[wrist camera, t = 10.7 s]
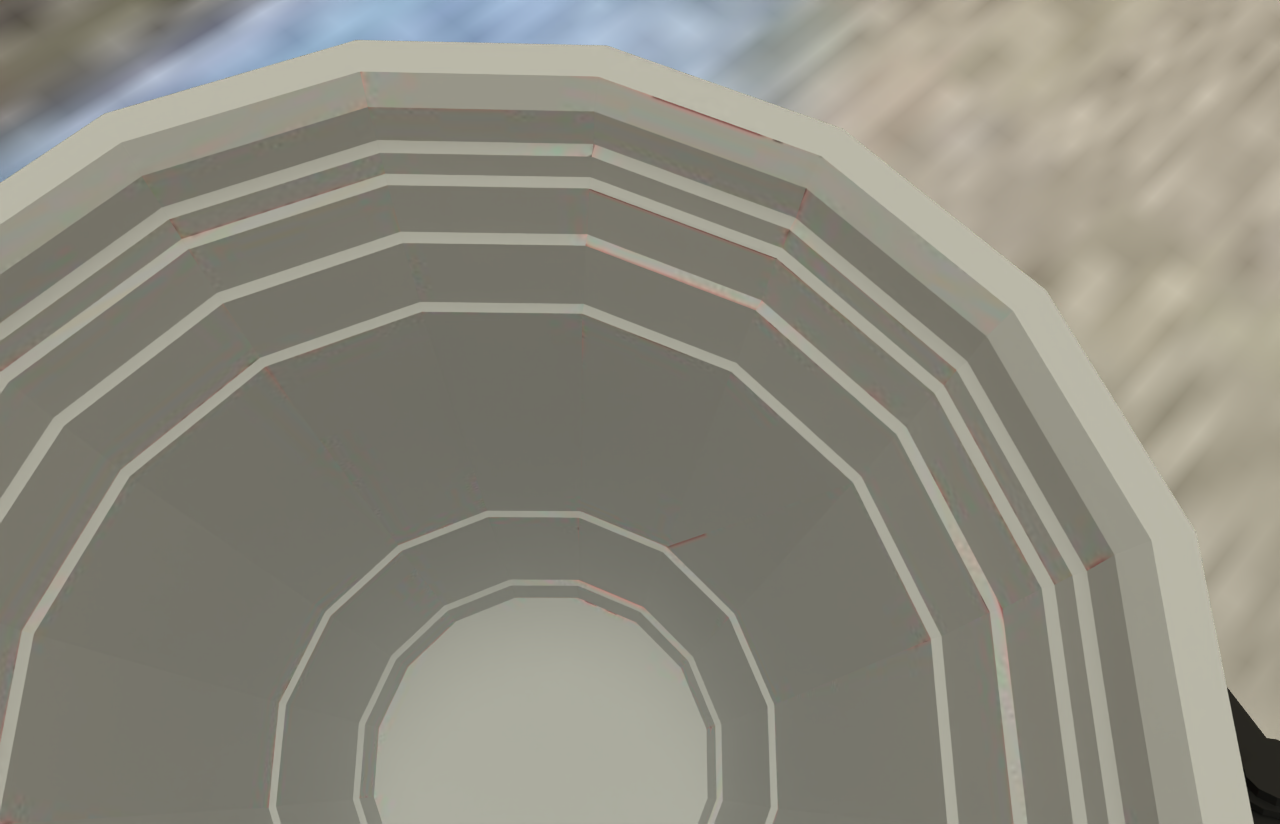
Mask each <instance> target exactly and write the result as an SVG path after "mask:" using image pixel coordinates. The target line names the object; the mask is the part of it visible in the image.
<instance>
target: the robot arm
mask: <svg viewBox="0 0 1280 824" xmlns="http://www.w3.org/2000/svg"><path fill="white" fill-rule="evenodd" d="M1227 691H1228V696H1229V701H1230V706H1231V711H1232V716H1233V721H1234V726H1235V731H1236V736H1237V741H1238V746H1239V752H1240V757H1241V762H1242V767H1243V772H1244V777H1245V782H1246V787H1247V792H1248V797H1249V802H1250V807H1251V812H1252V817H1253V822H1254V824H1280V741H1279V740H1276V739H1269V738H1266V737H1265V736H1264V734H1263V733H1262V732H1261V730H1260V729H1259V728H1258V727H1257V725H1256V724H1255V723H1254V721H1253V720H1252V719H1251V718H1250V716H1249V715H1248V714H1247V712H1246V711H1245V710H1244V708H1243V707H1242V706H1241V705H1240V703H1239V702H1238V701H1237V699H1236V698H1235V697H1234V696H1233V694H1232V693H1231V692H1230V690H1229V689H1228V688H1227Z"/></svg>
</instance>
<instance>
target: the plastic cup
mask: <svg viewBox="0 0 1280 824" xmlns="http://www.w3.org/2000/svg"><path fill="white" fill-rule="evenodd" d="M0 824H1254V822H1253V817H1252V812H1251V807H1250V802H1249V797H1248V792H1247V787H1246V782H1245V777H1244V772H1243V767H1242V762H1241V757H1240V752H1239V746H1238V741H1237V736H1236V731H1235V726H1234V721H1233V716H1232V711H1231V706H1230V701H1229V696H1228V691H1227V686H1226V681H1225V676H1224V671H1223V665H1222V660H1221V655H1220V650H1219V645H1218V640H1217V635H1216V630H1215V625H1214V620H1213V615H1212V610H1211V605H1210V600H1209V595H1208V590H1207V584H1206V579H1205V574H1204V569H1203V564H1202V559H1201V554H1200V549H1199V544H1198V539H1197V534H1196V531H1195V530H1194V528H1193V526H1192V525H1191V523H1190V522H1189V520H1188V518H1187V517H1186V515H1185V514H1184V512H1183V510H1182V509H1181V507H1180V505H1179V504H1178V502H1177V501H1176V499H1175V497H1174V496H1173V494H1172V493H1171V491H1170V489H1169V488H1168V486H1167V484H1166V483H1165V481H1164V480H1163V478H1162V476H1161V475H1160V473H1159V472H1158V470H1157V468H1156V467H1155V465H1154V463H1153V462H1152V460H1151V459H1150V457H1149V455H1148V454H1147V452H1146V451H1145V449H1144V447H1143V446H1142V444H1141V443H1140V441H1139V439H1138V438H1137V436H1136V434H1135V433H1134V431H1133V430H1132V428H1131V426H1130V425H1129V423H1128V422H1127V420H1126V418H1125V417H1124V415H1123V413H1122V412H1121V410H1120V409H1119V407H1118V405H1117V404H1116V402H1115V401H1114V399H1113V397H1112V396H1111V394H1110V392H1109V391H1108V389H1107V388H1106V386H1105V384H1104V383H1103V381H1102V380H1101V378H1100V376H1099V375H1098V373H1097V372H1096V370H1095V368H1094V367H1093V365H1092V363H1091V362H1090V360H1089V359H1088V357H1087V355H1086V354H1085V352H1084V351H1083V349H1082V347H1081V346H1080V344H1079V342H1078V341H1077V339H1076V338H1075V336H1074V334H1073V333H1072V331H1071V330H1070V328H1069V326H1068V325H1067V323H1066V322H1065V320H1064V318H1063V317H1062V315H1061V313H1060V312H1059V310H1058V309H1057V307H1056V305H1055V304H1054V302H1053V301H1052V299H1051V297H1050V296H1049V294H1048V292H1047V291H1046V290H1045V289H1044V288H1043V287H1041V286H1040V285H1039V284H1038V283H1036V282H1035V281H1034V280H1033V279H1031V278H1030V277H1029V276H1027V275H1026V274H1025V273H1024V272H1022V271H1021V270H1020V269H1019V268H1017V267H1016V266H1015V265H1014V264H1012V263H1011V262H1010V261H1009V260H1007V259H1006V258H1005V257H1003V256H1002V255H1001V254H1000V253H998V252H997V251H996V250H995V249H993V248H992V247H991V246H990V245H988V244H987V243H986V242H985V241H983V240H982V239H981V238H980V237H978V236H977V235H976V234H974V233H973V232H972V231H971V230H969V229H968V228H967V227H966V226H964V225H963V224H962V223H961V222H959V221H958V220H957V219H956V218H954V217H953V216H952V215H950V214H949V213H948V212H947V211H945V210H944V209H943V208H942V207H940V206H939V205H938V204H937V203H935V202H934V201H933V200H932V199H930V198H929V197H928V196H927V195H925V194H924V193H923V192H921V191H920V190H919V189H918V188H916V187H915V186H914V185H913V184H911V183H910V182H909V181H908V180H906V179H905V178H904V177H903V176H901V175H900V174H899V173H898V172H896V171H895V170H894V169H892V168H891V167H890V166H889V165H887V164H886V163H885V162H884V161H882V160H881V159H880V158H879V157H877V156H876V155H875V154H874V153H872V152H871V151H870V150H868V149H867V148H866V147H865V146H863V145H862V144H861V143H860V142H858V141H857V140H856V139H855V138H853V137H852V136H851V135H850V134H848V133H847V132H846V131H845V130H843V129H842V128H839V127H836V126H833V125H830V124H828V123H825V122H822V121H819V120H816V119H813V118H811V117H808V116H805V115H802V114H799V113H796V112H794V111H791V110H788V109H785V108H782V107H779V106H777V105H774V104H771V103H768V102H765V101H762V100H760V99H757V98H754V97H751V96H748V95H745V94H743V93H740V92H737V91H734V90H731V89H728V88H726V87H723V86H720V85H717V84H714V83H711V82H709V81H706V80H703V79H700V78H697V77H694V76H692V75H689V74H686V73H683V72H680V71H677V70H675V69H672V68H669V67H666V66H663V65H660V64H657V63H655V62H652V61H649V60H646V59H643V58H640V57H638V56H635V55H632V54H629V53H626V52H623V51H621V50H618V49H615V48H612V47H609V46H601V45H555V44H510V43H464V42H418V41H373V40H355V41H352V42H348V43H345V44H341V45H338V46H334V47H331V48H328V49H324V50H321V51H317V52H314V53H311V54H307V55H304V56H300V57H297V58H293V59H290V60H287V61H283V62H280V63H276V64H273V65H269V66H266V67H263V68H259V69H256V70H252V71H249V72H246V73H242V74H239V75H235V76H232V77H228V78H225V79H222V80H218V81H215V82H211V83H208V84H204V85H201V86H198V87H194V88H191V89H187V90H184V91H181V92H177V93H174V94H170V95H167V96H163V97H160V98H157V99H153V100H150V101H146V102H143V103H140V104H136V105H133V106H129V107H126V108H122V109H119V110H116V111H112V112H109V113H105V114H103V115H102V116H100V117H99V118H97V119H96V120H94V121H93V122H91V123H90V124H88V125H87V126H85V127H84V128H82V129H81V130H79V131H78V132H76V133H75V134H73V135H72V136H70V137H69V138H67V139H66V140H64V141H63V142H61V143H60V144H58V145H57V146H55V147H54V148H52V149H51V150H49V151H48V152H46V153H45V154H43V155H42V156H40V157H39V158H37V159H36V160H34V161H33V162H31V163H30V164H28V165H27V166H25V167H24V168H22V169H21V170H19V171H18V172H16V173H15V174H13V175H12V176H10V177H9V178H7V179H6V180H4V181H3V182H1V183H0Z"/></svg>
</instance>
